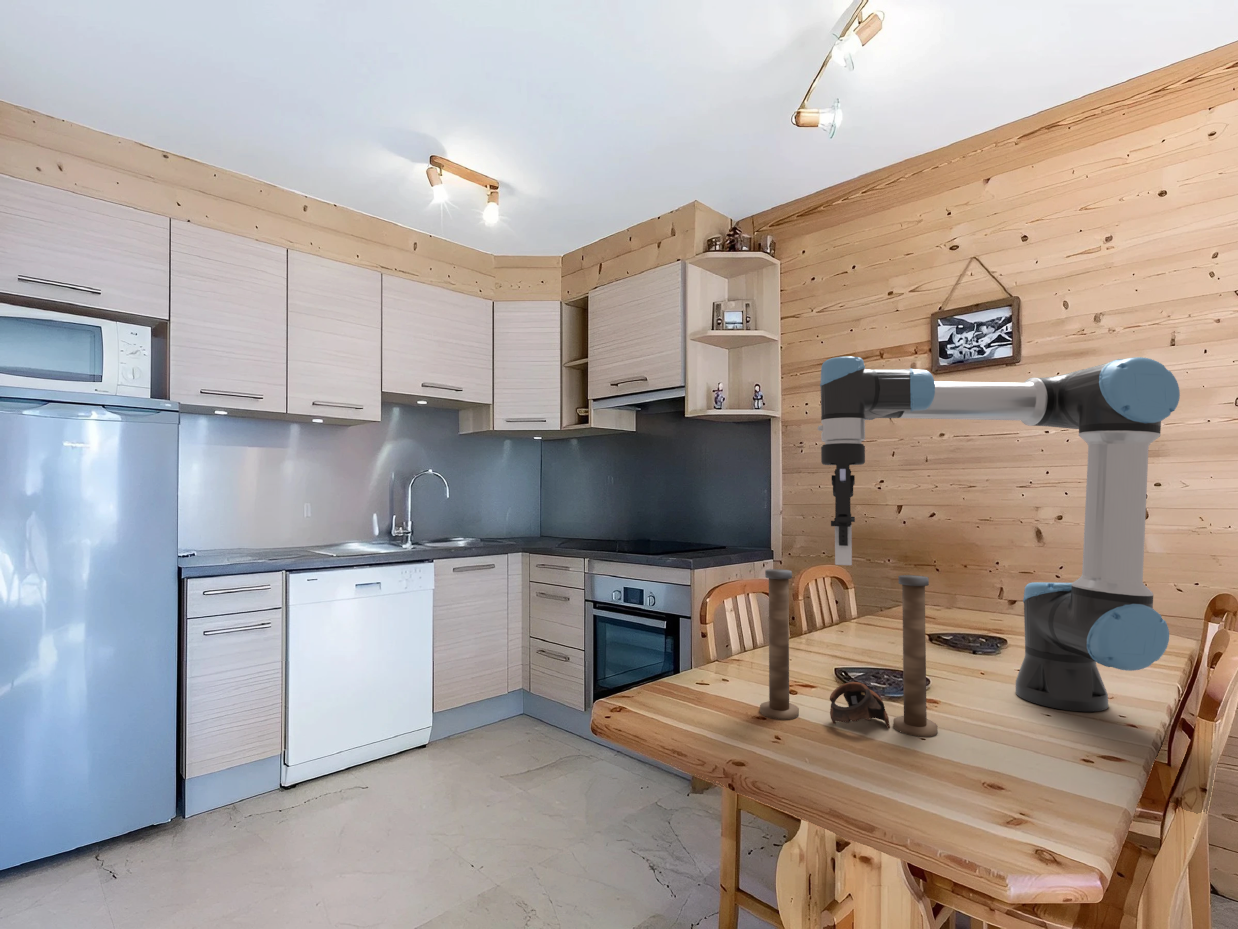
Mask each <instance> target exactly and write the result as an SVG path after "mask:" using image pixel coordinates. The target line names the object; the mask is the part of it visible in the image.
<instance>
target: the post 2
mask: <svg viewBox="0 0 1238 929" xmlns="http://www.w3.org/2000/svg"><path fill="white" fill-rule="evenodd" d="M898 584H899V585H901V587H902V588H901V590H902V593H901V594H902V595H901V596H902V600H901V601H902V675H903V678H902V679H903V682H902V683H903V684H902V685H903V691H902V692H903V715H900V716H895V717H894V718H893V719H892V725H893V726H892V727H893V728H894V730H896V731H897V730H898V732H899V731H901V732H900V733H901V734H904V733H905V735H908V736H913V737H921V738H922V737H923V738H928V737H934V736H937V735H938V733H939V732H938V730H939V728H938V724H937V723H936V722H934V721H933V720H930V719H928V717H927V658H926V656H927V655H926V652H927V648H926V643H927V642H926V639H927V638H926V637H927V636H926V635H927V634H926V586H929V584H930V581H929V577H927V576H924V575H912V574H904V575H903V574H902V575H898Z"/></svg>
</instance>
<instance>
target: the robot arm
mask: <svg viewBox="0 0 1238 929" xmlns="http://www.w3.org/2000/svg"><path fill="white" fill-rule="evenodd" d="M819 388H820V410H821V411H820V412H821V414H820V415H821V417H820V418H821V420H820V421H821V424H822V425H818V427H817V431H818V432H821V435H820V436H821V439H820V440H821V441H822V443H823V442H824V444H822V446H821V447H820V452H821V453H820V454H821V457H820V458H821V459H820V460H821V464H822V465H824V466H836V468H835V470H834V474H832V475H831V485H832V495H833V497H834V498H835V499H834V500H835V501H834V502H835V503H834V504H835V505H834V506H835V507H834V508H835V512H834V513H835V514H834V515H835V516H834V519H833V520H830V527H834V565H836V566H852V565H853V554H852V553H853V550H852V548H853V540H852V539H853V534H852V528H853V527H852V525H853V524H852V523H855V522H856V520H855V519H856V518H855V517H856V516H852V513H851V512H852V511H851V509H852V508H851V498H853V496H854V486H855V485H856V483H855V482H856V481H855V478H856V477H855V475H854V474H852V471H851V468H850V466H862V465H864V464H865V463H866V446H865V445H864V443H862V442H864V441H865V440H866V421H867V420H868V421H872V420H875V419H926V420H927V419H930V420H933V419H935V420H970V421H971V420H973V421H974V420H978V421H980V420H981V421H982V420H983V421H984V420H985V421H987V420H988V421H1020V422H1021V423H1022V424H1023V425H1025V426H1029V427H1032V426H1033V427H1051V428H1059V429H1060V428H1061V429H1062V428H1063V429H1072V430H1078V436H1079V437H1080V438H1081V440H1083V441H1084V443H1087V447H1088V448H1087V464H1086V465H1087V467H1086V469H1087V470H1086V486H1085V488H1086V489H1085V507H1084V508H1085V509H1084V510H1085V511H1084V528H1083V531H1084V532H1083V550H1082V572H1081V576H1080V577H1079V578H1077V579H1075V580H1074V581H1072V582H1044V581H1043V582H1042V581H1041V582H1040V581H1038V582H1029V583H1027V584H1026V585H1025V586H1024V592H1023V599H1022V602H1023V610H1024V611H1023V614H1024V615H1023V616H1024V617H1023V618H1024V619H1023V620H1024V621H1023V622H1024V658H1023V660H1022V663H1021V666H1020V668H1019V670H1018V674H1017V676H1016V679H1015V694H1016V695H1017V696H1018V697H1019V698H1021V699H1023V700H1024V701H1025V700H1026V701H1028V702H1030V703H1034V704H1037V705H1039V706H1043V707H1048V708H1052V709H1058V710H1064V711H1070V712H1085V713H1086V712H1089V713H1090V712H1102V711H1104V710H1107V709H1108V707H1109V694H1108V692H1107V689H1106V687H1105V684H1104V680H1103V679H1102V676H1101V674H1100V671H1099V668H1098V666H1097V664H1099V665H1101V666H1104V667H1107V668H1113V669H1116V670H1120V671H1126V672H1132V671H1140V670H1143V669H1146V668H1149V667H1150V666H1152V665H1153V663H1154V662H1157V661H1159V660H1160V659H1161V657H1162V656H1163V655H1165V652H1166V650H1167V648H1168V645H1169V643H1170V630H1169V626H1168V623H1167V621H1166V620H1165V619H1163V617H1162V615H1161V613H1159V612H1158V611H1157V610H1155V609H1154V593H1153V591H1151V590H1150V588H1148V586H1147V585H1145V583H1144V560H1145V559H1144V558H1145V556H1144V555H1145V539H1146V538H1145V536H1146V535H1145V534H1146V511H1147V494H1148V493H1147V492H1148V491H1147V490H1148V470H1149V469H1148V467H1149V466H1148V465H1149V446H1150V445H1151V444H1152V443H1153V442H1155V441H1156V440H1157V439H1158V438H1160V437H1161V431H1162V430H1161V428H1162V421H1163V420H1166V419H1167V418H1168V417H1170V416H1171V413H1173V412H1174V411H1176V409H1177V407H1178V405H1179V402H1180V396H1181V395H1180V394H1181V393H1180V392H1181V391H1180V386H1179V382H1178V381H1177V379H1176V376H1175V375H1174V374H1173V372H1172V371H1170V370H1168V369H1167V368H1166V367H1165V365H1164V364H1163V363H1161V362H1159V361H1157V360H1155V359H1152V358H1149V357H1142V356H1140V357H1139V356H1138V357H1127V358H1124V359H1123V358H1120V359H1119V358H1118V359H1114V360H1112V361H1109V362H1107V363H1104V364H1098V365H1094V366H1092V367H1087V368H1085V369H1084V368H1083V369H1079V370H1075V371H1073V372H1072V371H1071V372H1069V373H1064V374H1060V375H1054V376H1046V377H1030V378H1028V379H1026V380H1025V381H1024V382H1006V381H1005V382H1004V381H1002V382H1001V381H997V382H996V381H995V382H994V381H993V382H991V381H935V379H934V376H933V374H932V373H931V372H930V371H929V370H927V369H917V368H916V369H915V368H901V369H896V368H895V369H870V368H866V365H865V361H864V359H863V358H862V357H859V356H850V355H849V356H837V357H832V358H829V359H826V360H825V361H823V362H822V365H821V368H820V384H819Z"/></svg>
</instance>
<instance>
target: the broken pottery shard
mask: <svg viewBox="0 0 1238 929" xmlns="http://www.w3.org/2000/svg"><path fill="white" fill-rule="evenodd" d="M862 693H864V694H862ZM841 696H843V697H844V700H845V701H846V703H847V704H848V705H847V706H840V705H837V704H836V701H837V700H838V698H839V697H841ZM829 701H830V702H831V703H830V709H829V710H830V711H829V715H830V719H831V722H832V724H833V725H836V723H837V722H838V723H839V722H840V723H846V724H849V723H851V722H853V723H854V722H858V721H860V720H866V721H871V719H877V720H882V721H883V722H884V723H885V724H886V728H887V729H890V728H891V725H890V720H889V719H890V717H889V715H888V713H887V711H886V709H885V708H886V707H885V704H884V701H883V700H882V698H881V697H880V695H878V693H876V692H875V691H873V690H872V689H871V688H869V687H868V686H867V685H866V684H865V683H863V682H859V681H848V682H846V683H843V684H840V685H839V686H838V687H836V688H835V689H834V690H833V691H832V692H831V693H830V696H829Z"/></svg>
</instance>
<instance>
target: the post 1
mask: <svg viewBox="0 0 1238 929" xmlns="http://www.w3.org/2000/svg"><path fill="white" fill-rule="evenodd" d="M765 578H767V579H768V671H769V672H768V678H769V679H768V685H769V686H768V687H769V689H768V690H769V691H768V696H769V698H768V701H764V702H762V703H760V704H759V713H760V714H761V715H762V716H764V717H767V718H770V719H774V720H785V721H786V720H793V719H797V718H798V717H799V715H800V713H799V712H800V708H799V707H798V706H797V705H796V704H794V703H791V702H790V623H789V622H790V620H789V618H790V617H789V616H790V612H789V611H790V610H789V609H790V607H789V606H790V605H789V603H790V602H789V600H790V598H789V597H790V596H789V595H790V594H789V590H790V589H789V580H790V579H793V571H792V570H790V569H778V568H775V569H774V568H772V569H771V568H769V569H765Z"/></svg>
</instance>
